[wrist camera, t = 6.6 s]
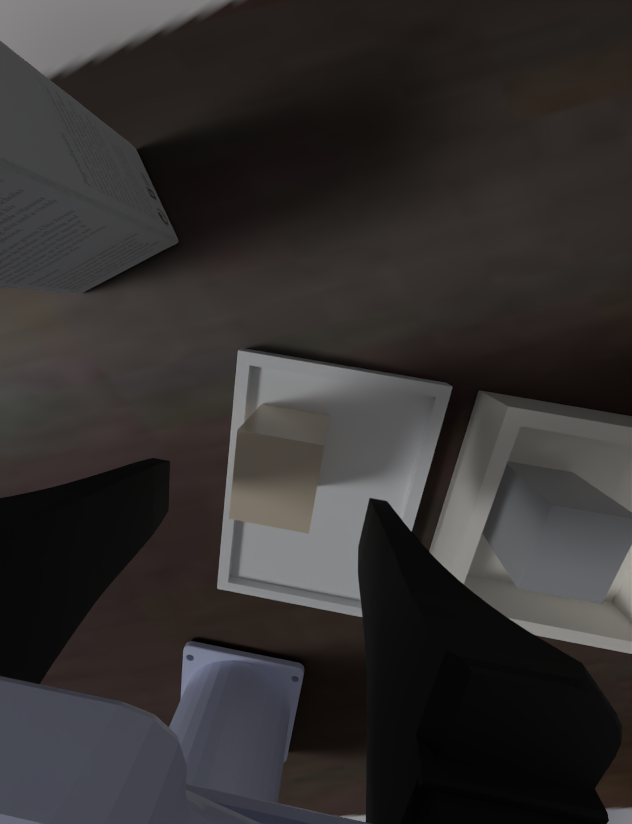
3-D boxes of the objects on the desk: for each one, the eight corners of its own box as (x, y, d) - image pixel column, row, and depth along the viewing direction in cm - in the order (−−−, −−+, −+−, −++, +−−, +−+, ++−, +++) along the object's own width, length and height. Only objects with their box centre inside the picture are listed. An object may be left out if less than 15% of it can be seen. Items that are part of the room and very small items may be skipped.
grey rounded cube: (544, 540, 17) (601, 604, 14) (479, 529, 17) (517, 588, 14) (573, 472, 16) (644, 520, 12) (503, 460, 16) (551, 504, 12)
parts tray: (384, 607, 20) (386, 621, 19) (223, 575, 20) (217, 588, 19) (446, 382, 16) (452, 386, 15) (244, 348, 16) (237, 350, 15)
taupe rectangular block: (316, 486, 18) (308, 533, 14) (253, 475, 18) (228, 518, 14) (329, 415, 16) (324, 445, 13) (262, 403, 17) (237, 429, 13)
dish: (613, 606, 19) (662, 659, 16) (423, 570, 19) (437, 616, 16) (708, 429, 16) (790, 454, 13) (478, 390, 16) (508, 406, 13)
